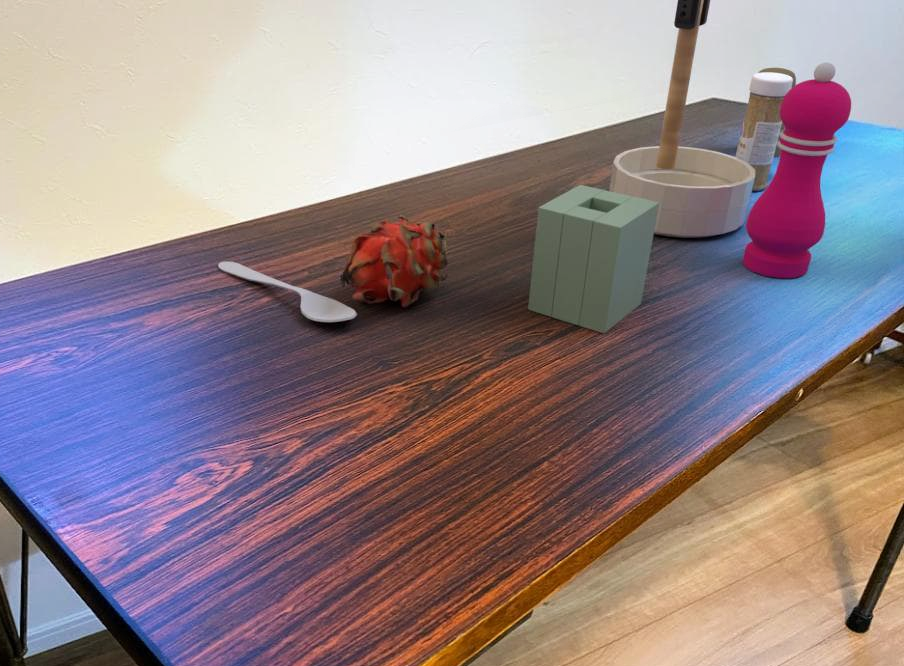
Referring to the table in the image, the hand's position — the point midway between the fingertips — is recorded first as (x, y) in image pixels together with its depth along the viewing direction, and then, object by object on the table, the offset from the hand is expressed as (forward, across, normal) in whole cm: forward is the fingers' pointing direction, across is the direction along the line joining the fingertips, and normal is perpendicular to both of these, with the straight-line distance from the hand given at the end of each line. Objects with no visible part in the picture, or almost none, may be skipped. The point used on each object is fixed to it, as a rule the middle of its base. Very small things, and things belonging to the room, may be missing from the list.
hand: (690, 25), depth 95 cm
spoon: (+20, -44, +19) cm, 52 cm away
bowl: (+21, 0, -2) cm, 21 cm away
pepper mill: (+21, -8, -16) cm, 27 cm away
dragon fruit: (+21, -38, +10) cm, 44 cm away
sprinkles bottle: (+21, +16, -5) cm, 27 cm away
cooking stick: (+15, 0, 0) cm, 15 cm away
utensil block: (+20, -28, -5) cm, 35 cm away
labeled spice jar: (+21, +32, -1) cm, 38 cm away
